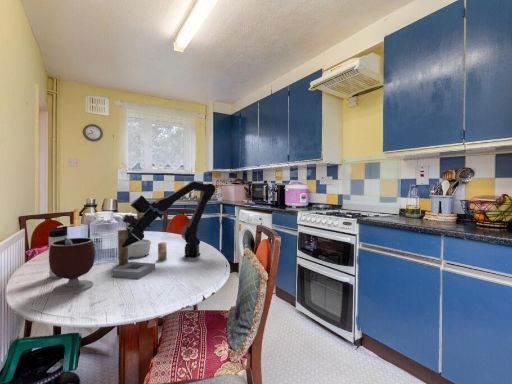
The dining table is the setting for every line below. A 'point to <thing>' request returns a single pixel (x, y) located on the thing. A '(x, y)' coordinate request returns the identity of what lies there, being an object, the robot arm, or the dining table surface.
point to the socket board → (133, 270)
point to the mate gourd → (72, 263)
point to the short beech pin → (162, 251)
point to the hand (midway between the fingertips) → (121, 245)
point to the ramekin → (139, 248)
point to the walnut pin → (122, 251)
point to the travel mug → (56, 235)
